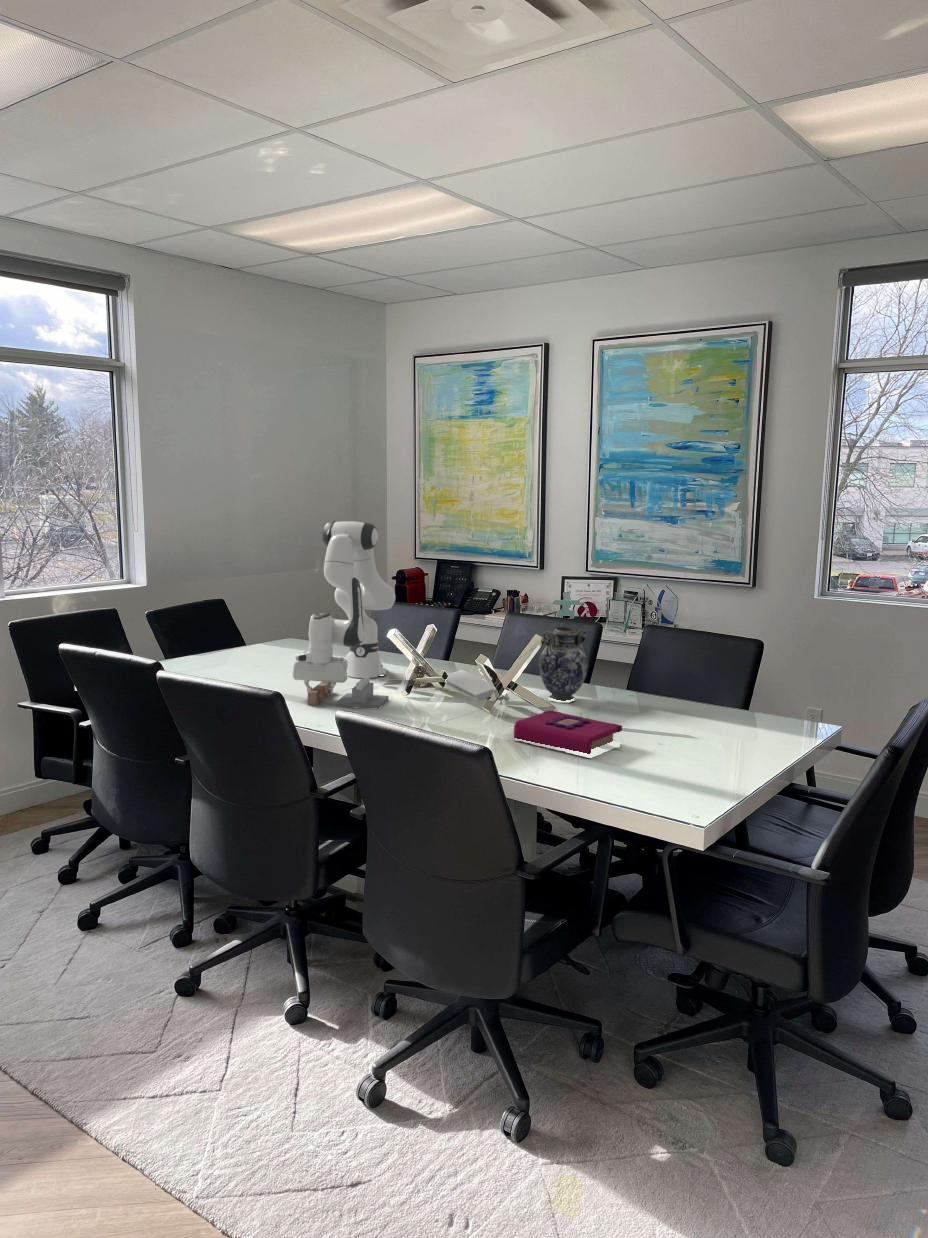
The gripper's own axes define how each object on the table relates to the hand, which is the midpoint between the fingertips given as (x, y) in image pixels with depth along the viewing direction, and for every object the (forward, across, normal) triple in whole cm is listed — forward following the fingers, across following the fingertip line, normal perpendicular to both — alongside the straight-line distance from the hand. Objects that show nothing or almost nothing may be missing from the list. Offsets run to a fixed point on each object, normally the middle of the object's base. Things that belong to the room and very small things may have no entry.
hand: (320, 692), depth 334 cm
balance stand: (+2, -17, +2) cm, 17 cm away
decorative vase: (+2, -89, -23) cm, 92 cm away
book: (+3, -93, +37) cm, 100 cm away
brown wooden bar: (+2, 0, 0) cm, 2 cm away
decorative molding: (+3, -52, -32) cm, 61 cm away
